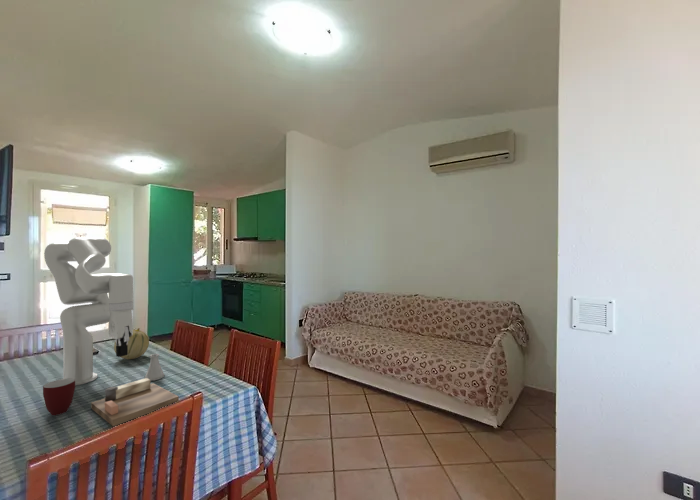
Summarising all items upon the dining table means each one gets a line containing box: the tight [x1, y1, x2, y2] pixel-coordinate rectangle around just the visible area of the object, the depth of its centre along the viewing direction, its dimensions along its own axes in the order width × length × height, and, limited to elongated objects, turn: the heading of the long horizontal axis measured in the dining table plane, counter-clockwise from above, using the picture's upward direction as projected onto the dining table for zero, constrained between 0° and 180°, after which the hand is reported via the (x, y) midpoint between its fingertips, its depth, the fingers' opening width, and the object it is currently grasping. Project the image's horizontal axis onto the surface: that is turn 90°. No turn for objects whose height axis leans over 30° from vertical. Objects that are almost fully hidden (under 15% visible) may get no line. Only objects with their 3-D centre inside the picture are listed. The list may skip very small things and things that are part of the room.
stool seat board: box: [90, 383, 180, 427], centre depth 114 cm, size 20×20×2 cm
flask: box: [143, 353, 165, 381], centre depth 138 cm, size 7×7×10 cm
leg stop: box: [105, 401, 118, 415], centre depth 105 cm, size 6×2×2 cm, turn 54°
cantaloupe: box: [113, 327, 150, 360], centre depth 164 cm, size 15×15×15 cm
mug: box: [42, 378, 76, 416], centre depth 109 cm, size 10×8×10 cm
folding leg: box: [104, 377, 152, 401], centre depth 118 cm, size 14×4×4 cm, turn 144°
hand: (121, 355), depth 121 cm, fingers closed
